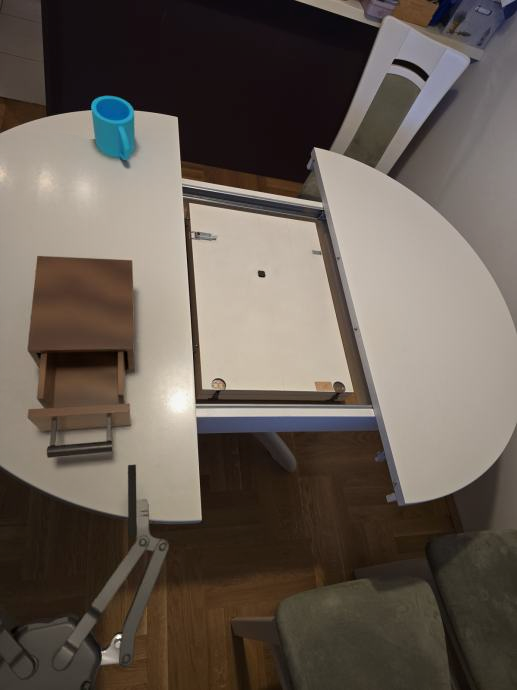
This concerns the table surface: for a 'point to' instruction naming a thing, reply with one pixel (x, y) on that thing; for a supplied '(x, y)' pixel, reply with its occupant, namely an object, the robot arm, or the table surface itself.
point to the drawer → (81, 397)
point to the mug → (113, 126)
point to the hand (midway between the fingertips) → (59, 473)
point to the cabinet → (82, 307)
